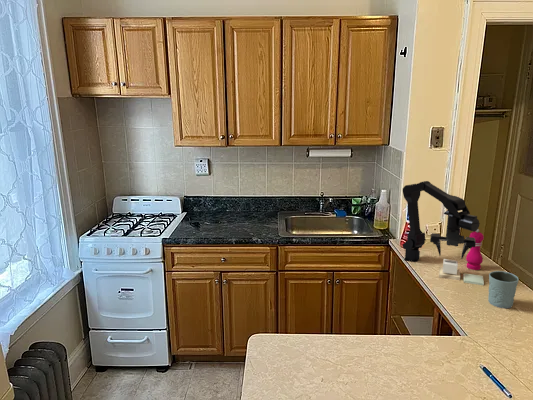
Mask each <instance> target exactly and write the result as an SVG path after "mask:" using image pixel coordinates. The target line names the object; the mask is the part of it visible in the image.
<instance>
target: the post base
mask: <svg viewBox="0 0 533 400" xmlns="http://www.w3.org/2000/svg"><path fill="white" fill-rule="evenodd" d="M438 278H440V279H448V280H455V281H461V269H458V268H457V275H456V274H449V273H443V266H439V268H438Z"/></svg>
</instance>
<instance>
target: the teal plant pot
mask: <svg viewBox="0 0 533 400" xmlns="http://www.w3.org/2000/svg"><path fill="white" fill-rule="evenodd" d="M519 281H520V279H519V277H518V276H517V275H515V274H514V273H511V272H508V271H504V270H503V271H502V270H494V271H491V272H489V274H488V282H489V283H488V284H489V285H488V295H487V296H488V297H487V298H488V303H489V304H490V305H491V306H494V307H496V308H499V309H511V308H512V307H513V305H514V301H515V300H514V299H515V297H516V292H517V286H518V283H519Z"/></svg>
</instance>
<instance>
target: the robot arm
mask: <svg viewBox="0 0 533 400" xmlns="http://www.w3.org/2000/svg"><path fill="white" fill-rule="evenodd" d="M422 191H423V192H425V193H426V194H428V195H429V196H431V197H432V198H435V199H436V200H438V201H439V202H441V204H442V205H443V207H444V208H445V210H446V211H444V212H443V214H444V215H446V216H447V221H446V230H445V231H446V232H445V236H441V234H440V233H436V232H435V233H434V232H432V233H431V234H430V241H429V242H430V243H432V244H433V245H435V246H436V249H437V252H438V256H439V257H441V254H442V253H441V250H442V249H441V247H442V245H441V241H442V242H446V246H453V247H459V245H463V247H462V251H461V256H460V259H461V260H462V259H464V257H465V254H466V252H467V251H468V250H470V249H471V248H472V247H475V244H476V241H475V238H472V237H470V236H466V237H465V236H464V235H461V229H463V230H467V231H470V232H475V231H476V230H477V229H479V227H480V224H481V223H480V220H479V219H478V216H477V215H472V214H471V212H470V211H469V208H468V206H467V205H466V201H465V199H464V198H461V197H459V196H457V195H453V194H450V193H447V192H446V191H444V190H442V189H441V188H439V187H437V186H435V185H434V184H433V183H431V182H430V181H429V180H423V181H420V182H418V183H412V184H411V183H410V184H407V185H404V186H403V187H402V195H403V198H404V200H405V201H406V202H407V212H408V213H407V214H408V225H409V232H408V234H407V236H406V237H407V238H406V241H405V242H403V244H402V249H404V250H405V251H404V252H405V253H404V254H405V255H404V261H407V262H414V263H418V262H419V261H420V255H421V251H420V249H422V247H423V246H424V245H425V243H426V240H427V239H426V232H423V231H422V230H421V224H420V212H419V210H420V209H419V200H420V197H421V192H422Z"/></svg>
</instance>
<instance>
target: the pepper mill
mask: <svg viewBox="0 0 533 400" xmlns="http://www.w3.org/2000/svg"><path fill="white" fill-rule="evenodd" d="M469 237H472V238H475V241H476V244H475V247H472V248H469V251H468V253H467V254H466V257H465V260H466V262H467V263H466V265H465V267H466V268H467V269H468V270H472V271H479V270H481V269H482V264H483V261H484V260H483V254H482V253H481V252H482V251H481V246H482V243H483V241H484V239H485V237H484V234H483V233H482V232H480V229H479V228H478V229H477V230H476V231H475V232H473V231H471V232H470V234H469Z"/></svg>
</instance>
